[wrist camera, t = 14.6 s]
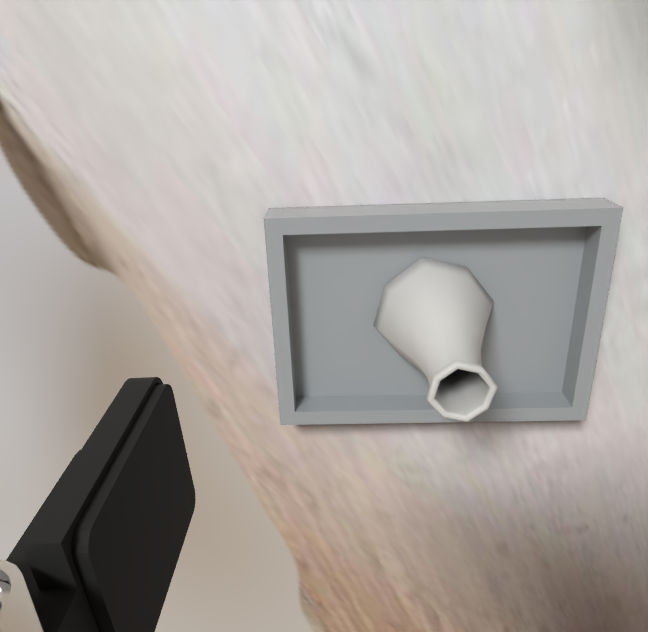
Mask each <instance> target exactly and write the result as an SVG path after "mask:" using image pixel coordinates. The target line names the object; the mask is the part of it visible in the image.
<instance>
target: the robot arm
mask: <svg viewBox="0 0 648 632" xmlns="http://www.w3.org/2000/svg"><path fill="white" fill-rule="evenodd" d="M194 508H195V489H194V485H193V480H192V476H191V471H190V467H189V462H188V458H187V453H186V449H185V444H184V440H183V435H182V431H181V426H180V421H179V417H178V412H177V408H176V404H175V399H174V394H173V390H172V387H171V386H170V385H168V384H163V383H162V381H161V379H160V378H158V377H150V378H130V379H128V380H127V381H126V382H125V383H124V385H123V386H122V388H121V389H120V391H119V393H118V394H117V396H116V397H115V399H114V400H113V402H112V403H111V405H110V406H109V408H108V409H107V411H106V413H105V414H104V416H103V417H102V419H101V420H100V422H99V423H98V425H97V426H96V428H95V429H94V431H93V433H92V434H91V436H90V437H89V439H88V440H87V442H86V443H85V445H84V446H83V448H82V450H79V452H78V453H77V454H76V455H75V456H74V458H73V459H72V461H71V462H70V464H69V465H68V467H67V468H66V470H65V471H64V473H63V474H62V476H61V478H60V479H59V481H58V482H57V483H56V485H55V487H54V488H53V490H52V491H51V493H50V494H49V496H48V497H47V499H46V500H45V502H44V503H43V505H42V506H41V508H40V509H39V511H38V512H37V514H36V516H35V517H34V519H33V520H32V522H31V523H30V525H29V526H28V528H27V529H26V531H25V532H24V534H23V536H22V537H21V538H20V540H19V542H18V543H17V545H16V546H15V548H14V549H13V551H12V552H11V554H10V555H9V557H8V558H7V560H0V632H154V631H155V629H156V625H157V622H158V619H159V616H160V613H161V610H162V607H163V604H164V601H165V598H166V595H167V592H168V588H169V586H170V582H171V579H172V576H173V573H174V570H175V567H176V564H177V561H178V558H179V555H180V551H181V549H182V546H183V543H184V539H185V536H186V533H187V530H188V527H189V524H190V521H191V518H192V515H193V511H194Z"/></svg>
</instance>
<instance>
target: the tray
mask: <svg viewBox="0 0 648 632" xmlns="http://www.w3.org/2000/svg"><path fill="white" fill-rule="evenodd" d="M622 212H623V207H621V206H619V205H617V204H615V203H613V202H611V201H609V200H607V199H605V198H587V199H554V200H522V201H490V202H457V203H425V204H393V205H360V206H328V207H296V208H269V209H268V211H267V213H266V215H265V217H264V227H265V239H266V252H267V264H268V276H269V288H270V301H271V313H272V325H273V337H274V350H275V362H276V374H277V387H278V399H279V411H280V423H281V425H311V424H376V423H440V422H462V421H457V420H452V419H447V418H443V417H442V416H441V415H440V414H439V413H438V412H437V411H436V410H435V408H434V407H433V406H432V405H431V404H430V403H429V402H428V401H427V398H426V397H427V393H428V391H429V388H430V385H429V382H428V379H427V377H426V375H425V374H424V373H423V372H422V371H421V370H420V369H418V368H417V367H416V366H414V365H413V364H411V363H410V362H408V361H407V360H405V359H404V358H402V357H401V356H400V355H399V354H398V353H397V352H396V350H395V349H394V348H393V347H392V346H391V345H390V344H389V343H388V341H387V340H386V339H385V338H384V337H383V336H382V335H381V334H380V332H379V331H378V330H377V329H376V328H375V327H374V326H373V325H374V322H375V318H376V315H377V311H378V308H379V304H380V301H381V297H382V294H383V290H384V287H385V285H386V284H387V283H388V282H390V281H391V280H392V279H394V278H395V277H396V276H398V275H399V274H400V273H402V272H403V271H404V270H406V269H407V268H408V267H409V266H411V265H412V264H413V263H415V262H416V261H417V260H419V259H420V258H421V257H425V258H429V259H434V260H438V261H443V262H447V263H452V264H456V265H460V266H465V267H468V269H469V270H470V271H471V272H472V274H473V275H474V276H475V278H476V279H477V280H478V281H479V283H480V284H481V285H482V286H483V288H484V289H485V290H486V291H487V293H488V294H489V295H490V296H491V298H492V299H493V304H492V308H491V312H490V315H489V318H488V321H487V325H486V329H485V333H484V337H483V342H482V346H481V360H482V367H483V368H484V370H485V371H486V372H487V373H488V374H489V375H490V377H491V378H492V379H493V380H494V381H495V383H496V384H497V386H498V388H497V390H496V393H495V395H494V398H493V400H492V403H491V405H490V408H489V409H488V410H486V411H485V412H483V413H482V414H480V415H479V416H477V417H475V418H474V419H472V420H471V421H469V422H505V421H569V420H586V416H587V410H588V405H589V399H590V393H591V388H592V382H593V376H594V371H595V365H596V359H597V354H598V348H599V342H600V337H601V331H602V325H603V320H604V314H605V308H606V303H607V297H608V291H609V285H610V280H611V274H612V268H613V263H614V257H615V251H616V246H617V240H618V234H619V229H620V223H621V217H622Z"/></svg>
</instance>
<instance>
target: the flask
mask: <svg viewBox="0 0 648 632" xmlns="http://www.w3.org/2000/svg"><path fill="white" fill-rule="evenodd" d="M492 304H493V299H492V298H491V296H490V295H489V294H488V293H487V291H486V290H485V289H484V288H483V286H482V285H481V284H480V283H479V281H478V280H477V279H476V278H475V276H474V275H473V274H472V272H471V271H470V270H469V269H468V267H465V266H460V265H456V264H452V263H447V262H443V261H438V260H434V259H429V258H425V257H421V258H420V259H419V260H417V261H416V262H415V263H413V264H412V265H411V266H409V267H408V268H407V269H406V270H404V271H403V272H402V273H400V274H399V275H398V276H396V277H395V278H394V279H392V280H391V281H390V282H388V283H387V284H386V285H385V287H384V290H383V294H382V297H381V301H380V304H379V308H378V311H377V315H376V318H375V322H374V325H373V326H374V327H375V328H376V329H377V330H378V331H379V332H380V334H381V335H382V336H383V337H384V338H385V339H386V340H387V341H388V343H389V344H390V345H391V346H392V347H393V348H394V349H395V350H396V352H397V353H398V354H399V355H400V356H401V357H402V358H404V359H405V360H407V361H408V362H410V363H411V364H413V365H414V366H416V367H417V368H418V369H420V370H421V371H422V372H423V373H424V374H425V375H426V377H427V379H428V382H429V385H430V388H429V391H428V393H427V397H426V398H427V401H428V402H429V403H430V404H431V405H432V406H433V407H434V408H435V410H436V411H437V412H438V413H439V414H440V415H441V416H442V417H443V418H447V419H452V420H457V421H462V422H467V423H468V422H469V421H471V420H472V419H474V418H475V417H477V416H479V415H480V414H482V413H483V412H485V411H486V410H488V409H489V408H490V405H491V403H492V400H493V398H494V395H495V393H496V390H497V388H498V386H497V384H496V383H495V381H494V380H493V379H492V378H491V377H490V375H489V374H488V373H487V372H486V371H485V370H484V368H483V367H482V360H481V346H482V342H483V337H484V333H485V329H486V325H487V321H488V318H489V315H490V312H491V308H492Z"/></svg>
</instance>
